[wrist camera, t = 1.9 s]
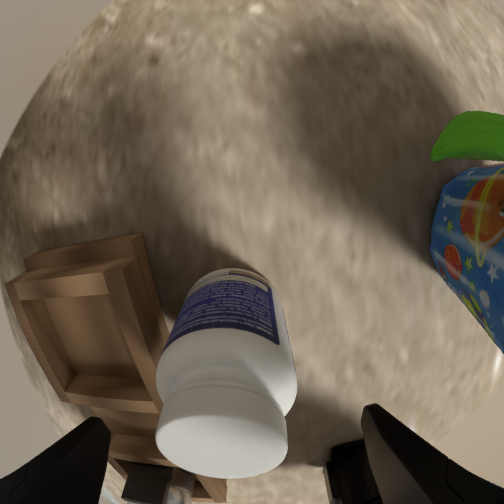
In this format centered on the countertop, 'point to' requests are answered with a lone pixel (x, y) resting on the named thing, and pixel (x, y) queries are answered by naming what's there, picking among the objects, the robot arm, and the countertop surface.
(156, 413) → the holder
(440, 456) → the robot arm
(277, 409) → the pill bottle
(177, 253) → the countertop surface
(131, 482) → the clear jar
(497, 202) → the snack cup
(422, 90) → the countertop surface
